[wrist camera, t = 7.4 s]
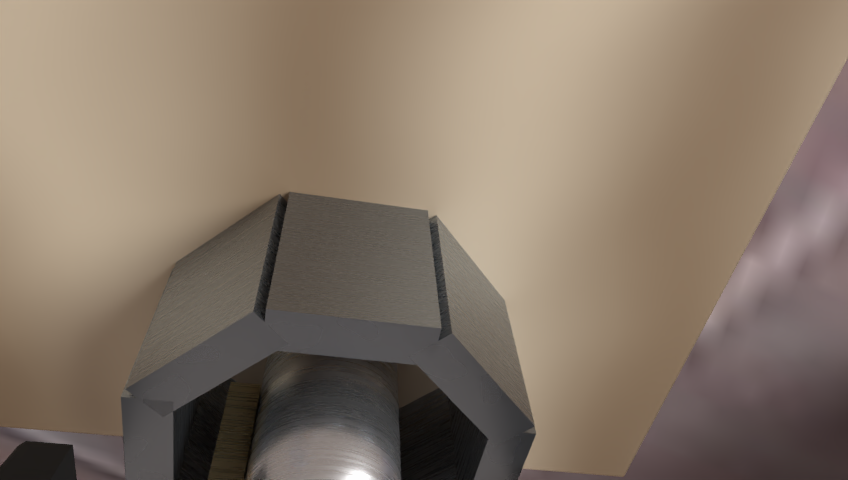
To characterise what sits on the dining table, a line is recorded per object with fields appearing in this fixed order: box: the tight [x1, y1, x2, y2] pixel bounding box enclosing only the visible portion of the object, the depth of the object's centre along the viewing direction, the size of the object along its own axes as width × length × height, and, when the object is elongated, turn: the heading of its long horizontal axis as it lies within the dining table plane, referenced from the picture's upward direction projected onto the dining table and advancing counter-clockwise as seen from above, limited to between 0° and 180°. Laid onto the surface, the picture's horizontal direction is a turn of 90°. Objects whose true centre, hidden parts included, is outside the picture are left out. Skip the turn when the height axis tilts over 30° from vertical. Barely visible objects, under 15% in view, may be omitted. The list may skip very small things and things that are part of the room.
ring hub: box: [121, 192, 536, 480], centre depth 12 cm, size 6×6×3 cm
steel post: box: [208, 351, 401, 480], centre depth 12 cm, size 3×2×4 cm
